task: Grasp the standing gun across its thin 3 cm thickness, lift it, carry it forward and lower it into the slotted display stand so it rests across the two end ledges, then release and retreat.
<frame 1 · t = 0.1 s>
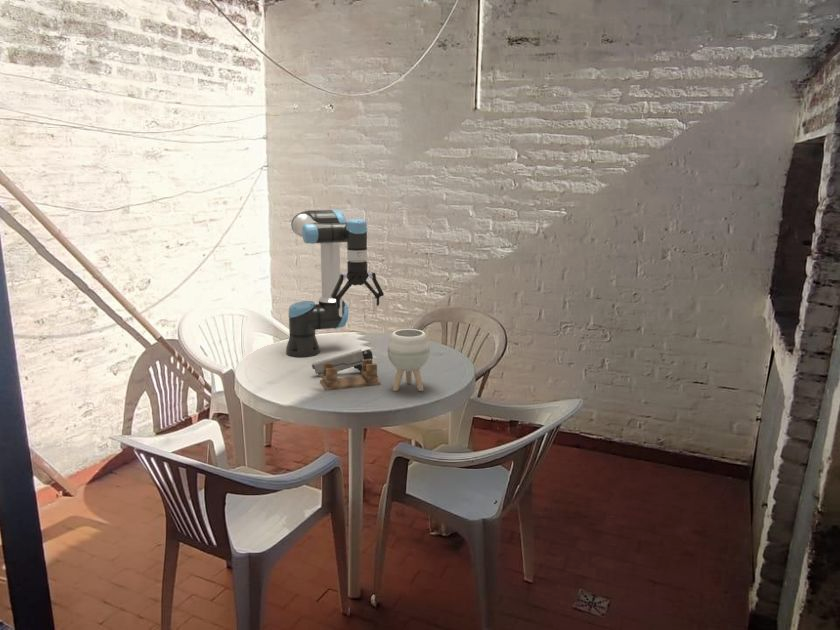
hand: (357, 315, 247), 28 cm above the table, fingers open, 13 cm apart
planter: (408, 388, 248), on the table
gun: (342, 375, 264), on the table
display stand: (350, 383, 253), on the table
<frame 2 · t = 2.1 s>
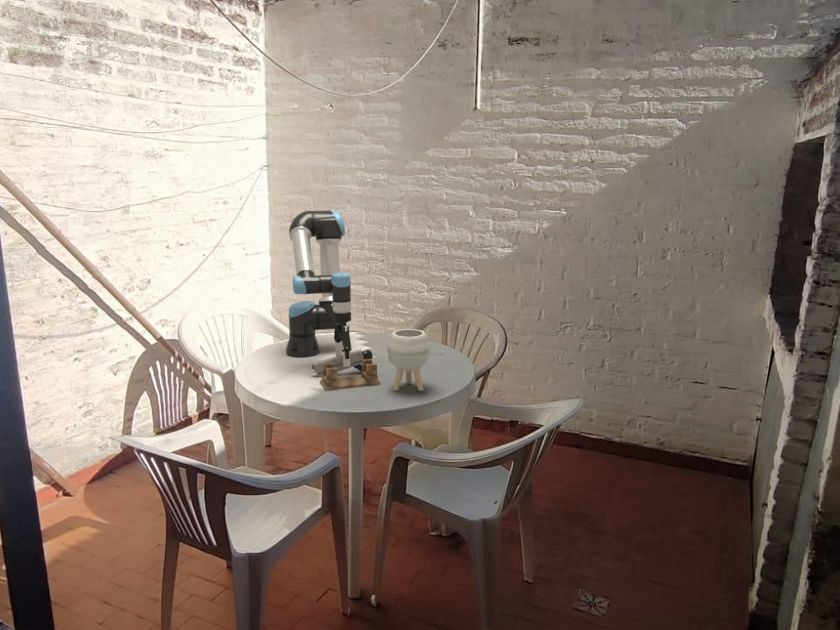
hand: (342, 361, 262), 5 cm above the table, fingers open, 13 cm apart
nothing on the table moved.
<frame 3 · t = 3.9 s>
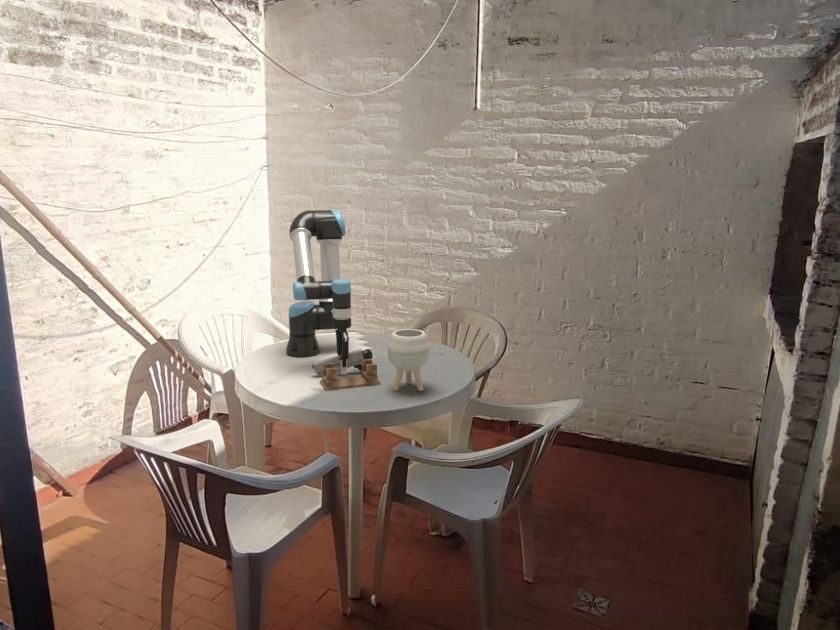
hand: (342, 372, 264), 1 cm above the table, fingers closed on gun, 3 cm apart
gun: (342, 374, 264), on the table, touching gripper
everything else where it was.
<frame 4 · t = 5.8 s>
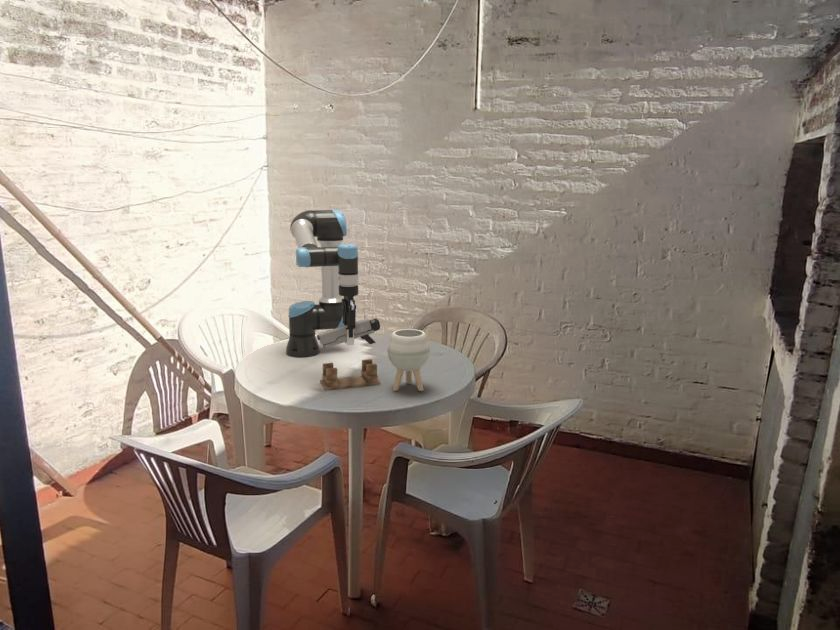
hand: (349, 343, 249), 16 cm above the table, fingers closed on gun, 2 cm apart
gun: (349, 346, 249), point 15 cm above the table, touching gripper
everything else where it was.
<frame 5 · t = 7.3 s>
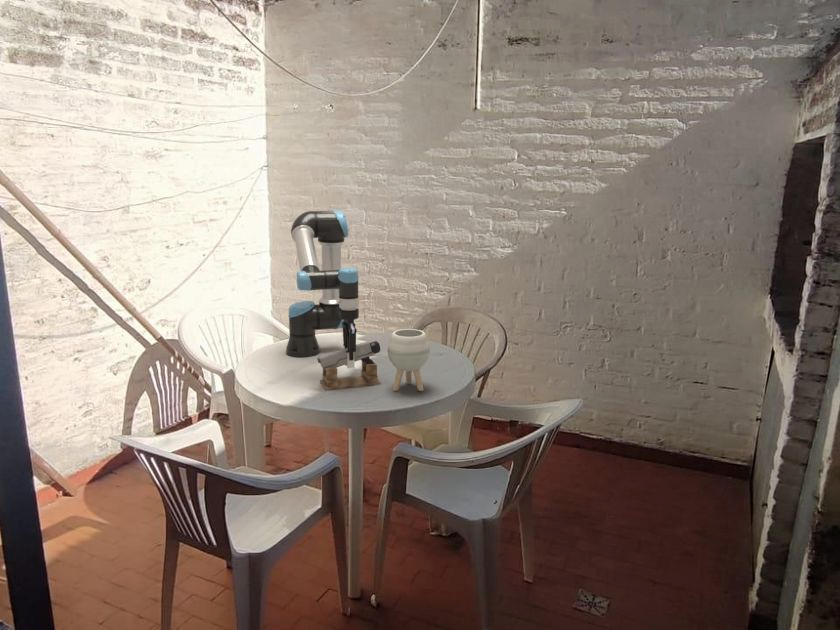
hand: (349, 366, 251), 7 cm above the table, fingers closed on gun, 2 cm apart
gun: (349, 368, 251), point 6 cm above the table, touching gripper
everything else where it was.
when the fingers open (5 cm above the table, at t = 8.2 s): gun drops 1 cm, resting on display stand.
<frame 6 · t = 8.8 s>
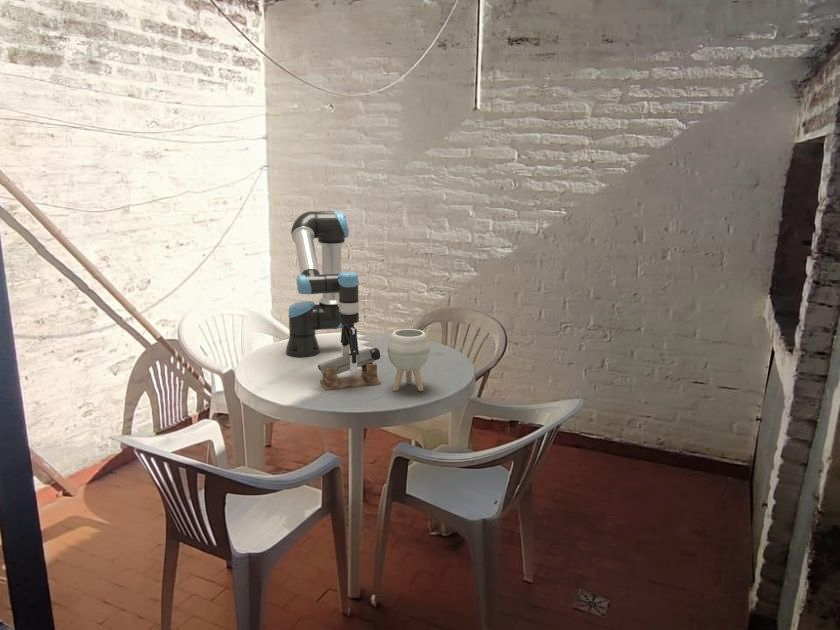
hand: (349, 366, 251), 7 cm above the table, fingers open, 11 cm apart
gun: (349, 375, 252), point 3 cm above the table, touching display stand
everything else where it was.
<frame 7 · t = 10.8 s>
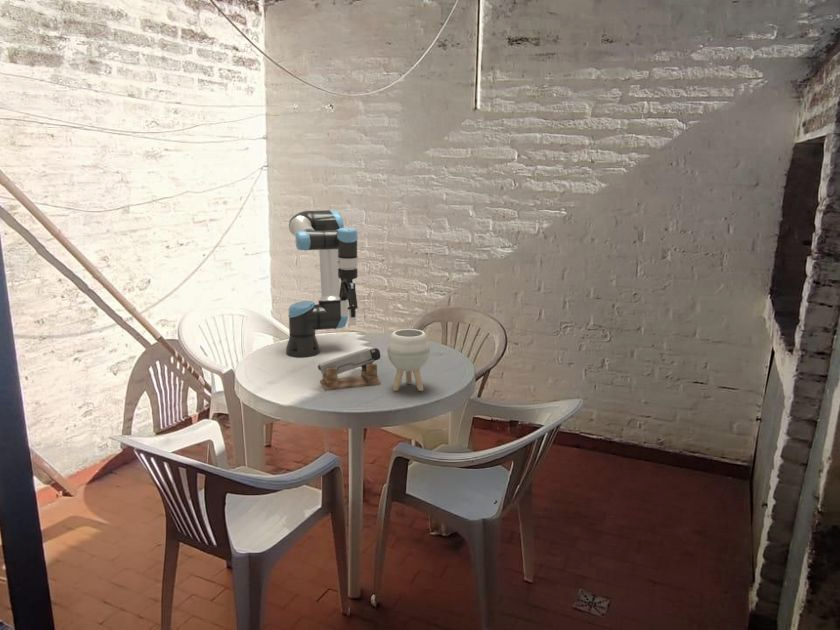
hand: (348, 320, 254), 24 cm above the table, fingers open, 13 cm apart
nothing on the table moved.
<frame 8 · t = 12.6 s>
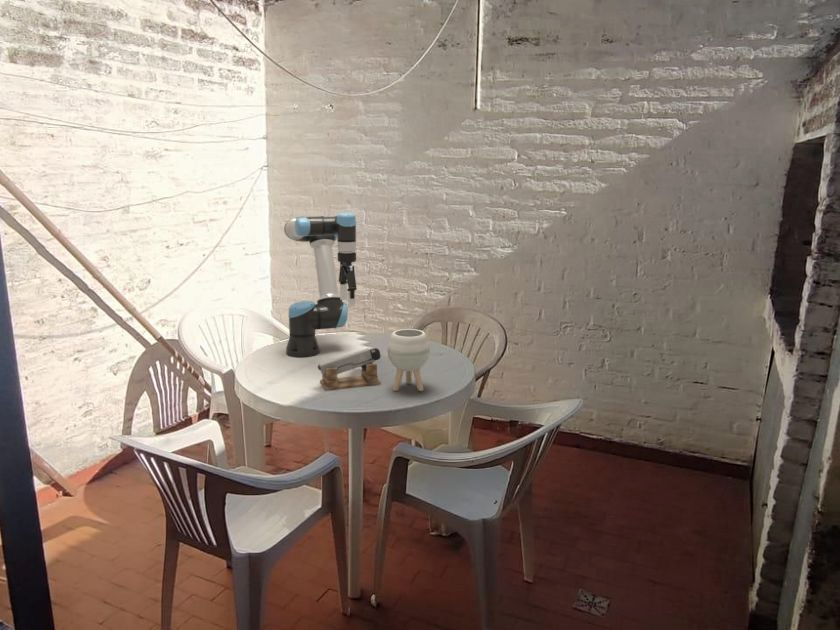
hand: (347, 302, 264), 29 cm above the table, fingers open, 13 cm apart
nothing on the table moved.
at the end: gun 0.1 cm from the display stand (horizontally); gun touching display stand; the gripper is holding nothing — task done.
